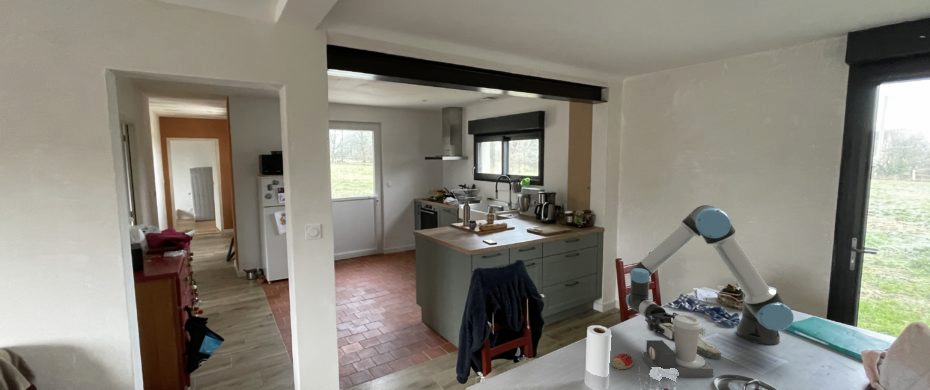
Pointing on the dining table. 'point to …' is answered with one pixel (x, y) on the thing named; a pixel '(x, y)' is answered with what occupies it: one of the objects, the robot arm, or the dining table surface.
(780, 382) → the dining table surface
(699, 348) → the elongated rock
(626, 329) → the dining table surface
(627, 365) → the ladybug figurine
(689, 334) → the coffee cup
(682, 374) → the kitchen scale
